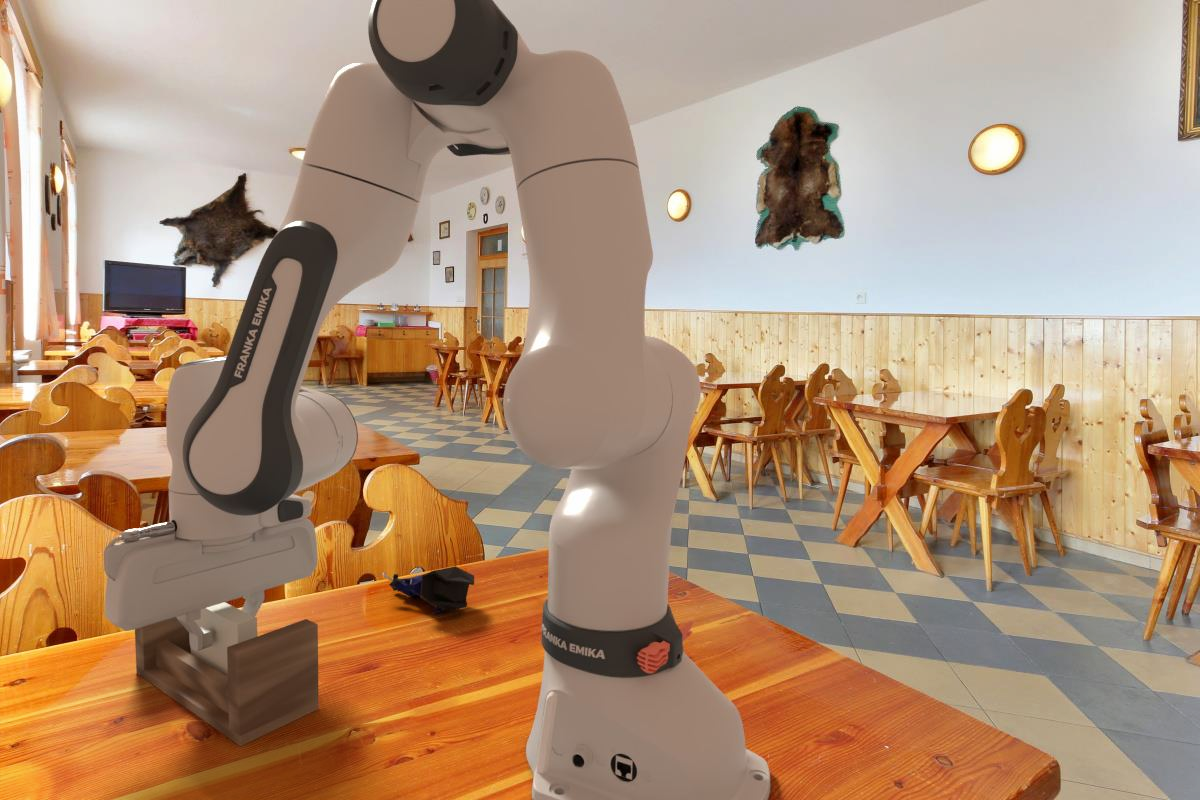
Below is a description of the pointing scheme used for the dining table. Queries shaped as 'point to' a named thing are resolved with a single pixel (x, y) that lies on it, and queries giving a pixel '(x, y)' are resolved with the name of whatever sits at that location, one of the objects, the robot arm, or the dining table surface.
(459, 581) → the toy
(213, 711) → the wooden rack
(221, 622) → the door panel
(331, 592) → the dining table surface
